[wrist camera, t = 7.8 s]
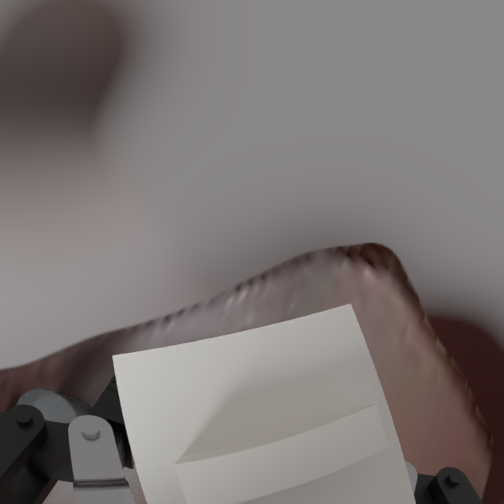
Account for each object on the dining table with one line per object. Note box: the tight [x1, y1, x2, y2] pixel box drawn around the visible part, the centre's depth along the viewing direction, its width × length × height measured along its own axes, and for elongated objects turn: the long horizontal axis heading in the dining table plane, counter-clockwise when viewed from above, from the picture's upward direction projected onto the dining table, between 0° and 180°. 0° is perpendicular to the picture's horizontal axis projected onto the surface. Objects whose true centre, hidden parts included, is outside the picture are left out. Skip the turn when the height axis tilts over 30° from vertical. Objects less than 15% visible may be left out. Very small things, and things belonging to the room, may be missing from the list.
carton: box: [112, 304, 416, 504], centre depth 9 cm, size 5×5×12 cm
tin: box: [17, 389, 92, 423], centre depth 19 cm, size 6×6×6 cm
